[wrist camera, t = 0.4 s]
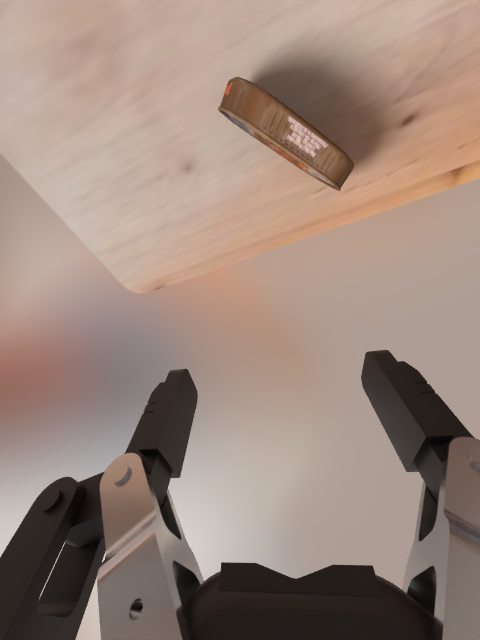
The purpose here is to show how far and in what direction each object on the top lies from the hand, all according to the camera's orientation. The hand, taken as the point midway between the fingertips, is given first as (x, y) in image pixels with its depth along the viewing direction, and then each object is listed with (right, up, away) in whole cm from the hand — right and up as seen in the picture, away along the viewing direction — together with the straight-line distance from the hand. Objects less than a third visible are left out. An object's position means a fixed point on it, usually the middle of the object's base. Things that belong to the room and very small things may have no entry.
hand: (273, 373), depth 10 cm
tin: (+3, +24, +16) cm, 29 cm away
